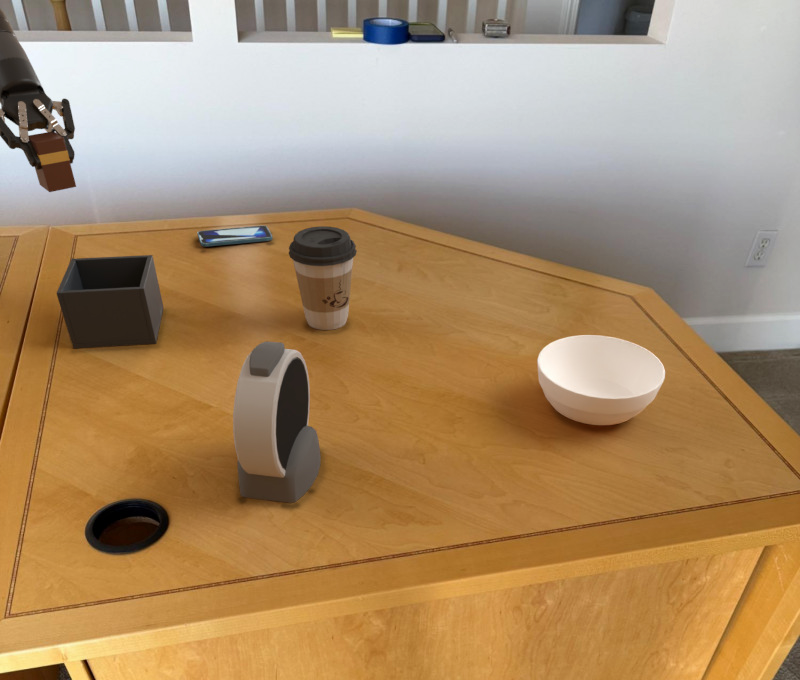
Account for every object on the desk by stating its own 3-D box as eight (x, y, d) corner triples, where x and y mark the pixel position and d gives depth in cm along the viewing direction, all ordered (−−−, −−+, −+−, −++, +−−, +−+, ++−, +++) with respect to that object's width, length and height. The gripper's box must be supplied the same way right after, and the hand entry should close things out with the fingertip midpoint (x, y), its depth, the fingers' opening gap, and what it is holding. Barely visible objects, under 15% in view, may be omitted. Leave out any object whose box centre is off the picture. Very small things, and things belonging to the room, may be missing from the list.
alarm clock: (301, 513, 98) (288, 389, 86) (224, 504, 99) (201, 380, 87) (332, 441, 110) (324, 322, 98) (263, 433, 111) (247, 315, 99)
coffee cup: (320, 342, 131) (314, 256, 121) (282, 319, 137) (273, 235, 127) (372, 322, 137) (370, 237, 127) (332, 300, 143) (328, 218, 133)
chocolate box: (49, 192, 134) (35, 142, 128) (39, 184, 137) (25, 135, 131) (76, 186, 136) (64, 137, 131) (66, 179, 139) (53, 131, 133)
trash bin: (73, 348, 129) (56, 293, 123) (86, 311, 139) (71, 258, 133) (156, 343, 131) (143, 288, 124) (163, 307, 141) (152, 254, 134)
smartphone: (273, 237, 163) (201, 244, 160) (273, 241, 164) (202, 248, 160) (266, 224, 169) (196, 231, 165) (266, 229, 169) (197, 235, 165)
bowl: (509, 390, 120) (514, 348, 115) (607, 367, 126) (616, 326, 121) (573, 454, 108) (582, 410, 103) (679, 425, 113) (692, 382, 108)
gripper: (-36, 60, 125) (13, 158, 126) (52, 50, 131) (98, 143, 132) (-34, 91, 131) (12, 184, 132) (50, 80, 138) (93, 168, 139)
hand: (55, 163), depth 132 cm, fingers closed on chocolate box, 5 cm apart
